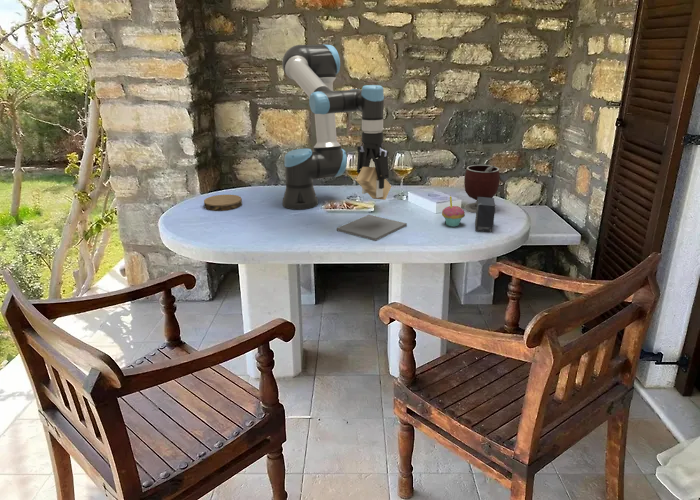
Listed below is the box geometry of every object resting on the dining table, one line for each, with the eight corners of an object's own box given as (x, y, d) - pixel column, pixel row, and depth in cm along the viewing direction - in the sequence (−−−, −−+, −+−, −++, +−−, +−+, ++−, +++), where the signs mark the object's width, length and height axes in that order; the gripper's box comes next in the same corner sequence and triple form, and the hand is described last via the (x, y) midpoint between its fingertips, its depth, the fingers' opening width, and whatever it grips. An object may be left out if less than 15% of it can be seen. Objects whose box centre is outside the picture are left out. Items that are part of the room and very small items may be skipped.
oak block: (372, 198, 194) (355, 180, 185) (379, 185, 195) (362, 166, 187) (385, 199, 190) (368, 181, 182) (391, 186, 192) (375, 167, 183)
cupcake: (451, 229, 192) (453, 198, 188) (436, 223, 199) (438, 193, 194) (468, 225, 196) (471, 194, 192) (453, 219, 203) (455, 189, 199)
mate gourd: (456, 205, 220) (460, 158, 213) (486, 202, 223) (490, 156, 216) (473, 216, 206) (477, 166, 199) (504, 213, 209) (510, 164, 202)
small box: (493, 232, 189) (496, 205, 185) (475, 231, 190) (477, 204, 186) (492, 223, 198) (494, 197, 194) (474, 222, 199) (476, 196, 196)
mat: (336, 230, 193) (336, 228, 192) (368, 217, 207) (368, 214, 207) (375, 240, 182) (375, 238, 182) (406, 225, 196) (406, 223, 196)
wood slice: (202, 212, 216) (201, 205, 214) (206, 202, 230) (205, 195, 229) (241, 210, 218) (240, 203, 217) (242, 200, 232) (242, 193, 231)
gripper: (400, 133, 176) (399, 198, 185) (361, 127, 190) (361, 188, 199) (384, 136, 172) (384, 202, 180) (346, 129, 186) (347, 191, 194)
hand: (372, 194), depth 190 cm, fingers closed on oak block, 7 cm apart
